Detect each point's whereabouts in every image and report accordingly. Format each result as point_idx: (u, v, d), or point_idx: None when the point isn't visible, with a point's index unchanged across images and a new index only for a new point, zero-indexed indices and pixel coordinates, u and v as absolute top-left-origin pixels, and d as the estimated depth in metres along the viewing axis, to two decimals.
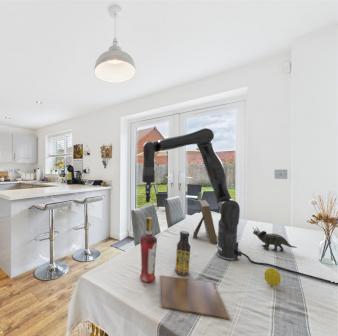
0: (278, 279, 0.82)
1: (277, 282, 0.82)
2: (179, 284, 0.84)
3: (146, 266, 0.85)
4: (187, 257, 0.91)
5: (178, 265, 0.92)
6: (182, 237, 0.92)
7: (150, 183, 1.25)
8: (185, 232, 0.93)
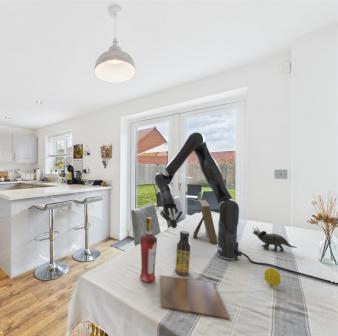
0: (278, 279, 0.82)
1: (277, 282, 0.82)
2: (179, 284, 0.84)
3: (146, 266, 0.85)
4: (187, 257, 0.91)
5: (178, 265, 0.92)
6: (182, 237, 0.92)
7: (180, 211, 1.11)
8: (185, 232, 0.93)
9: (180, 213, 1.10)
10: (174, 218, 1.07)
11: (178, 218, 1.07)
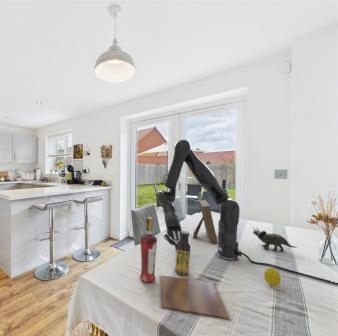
0: (278, 279, 0.82)
1: (277, 282, 0.82)
2: (179, 284, 0.84)
3: (146, 266, 0.85)
4: (187, 257, 0.91)
5: (178, 265, 0.92)
6: (182, 237, 0.92)
7: None
8: (185, 232, 0.93)
9: None
10: None
11: None
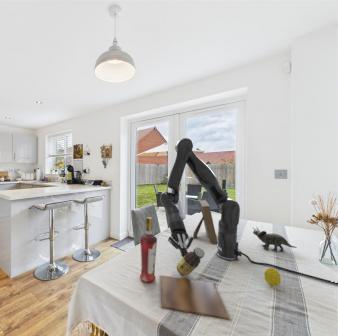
0: (278, 279, 0.82)
1: (277, 282, 0.82)
2: (179, 284, 0.84)
3: (146, 266, 0.85)
4: (193, 269, 0.85)
5: (181, 269, 0.89)
6: (195, 256, 0.80)
7: (191, 237, 0.97)
8: (200, 253, 0.79)
9: (191, 239, 0.96)
10: (184, 246, 0.93)
11: (189, 246, 0.93)
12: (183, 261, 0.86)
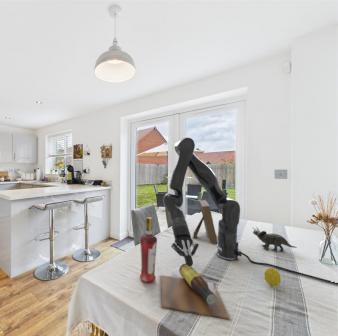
0: (278, 279, 0.82)
1: (277, 282, 0.82)
2: (179, 284, 0.84)
3: (146, 266, 0.85)
4: None
5: None
6: (204, 298, 0.72)
7: (196, 243, 0.91)
8: (212, 300, 0.70)
9: (196, 246, 0.90)
10: (189, 253, 0.88)
11: (194, 253, 0.88)
12: (189, 282, 0.80)
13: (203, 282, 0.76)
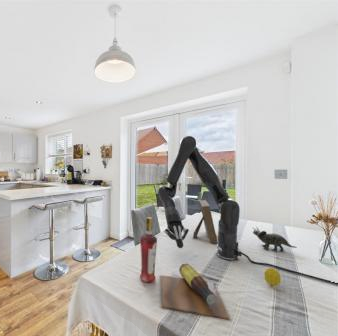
0: (278, 279, 0.82)
1: (277, 282, 0.82)
2: (179, 284, 0.84)
3: (146, 266, 0.85)
4: None
5: None
6: (204, 298, 0.72)
7: None
8: (212, 300, 0.70)
9: (186, 231, 1.01)
10: (180, 237, 0.99)
11: (184, 237, 0.99)
12: (189, 282, 0.80)
13: (203, 282, 0.76)
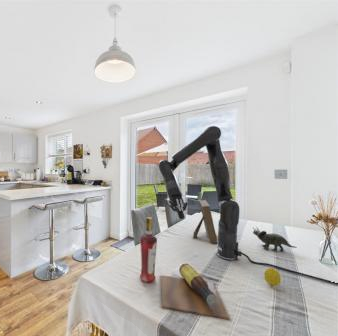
0: (278, 279, 0.82)
1: (277, 282, 0.82)
2: (179, 284, 0.84)
3: (146, 266, 0.85)
4: None
5: None
6: (204, 298, 0.72)
7: (186, 202, 1.09)
8: (212, 300, 0.70)
9: (186, 204, 1.08)
10: (182, 209, 1.05)
11: (185, 209, 1.05)
12: (189, 282, 0.80)
13: (203, 282, 0.76)
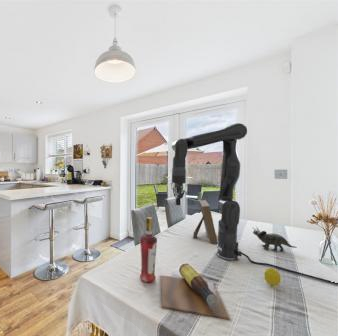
0: (278, 279, 0.82)
1: (277, 282, 0.82)
2: (179, 284, 0.84)
3: (146, 266, 0.85)
4: None
5: None
6: (204, 298, 0.72)
7: None
8: (212, 300, 0.70)
9: None
10: None
11: None
12: (189, 282, 0.80)
13: (203, 282, 0.76)
